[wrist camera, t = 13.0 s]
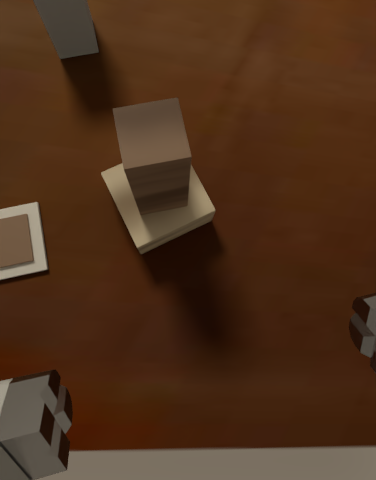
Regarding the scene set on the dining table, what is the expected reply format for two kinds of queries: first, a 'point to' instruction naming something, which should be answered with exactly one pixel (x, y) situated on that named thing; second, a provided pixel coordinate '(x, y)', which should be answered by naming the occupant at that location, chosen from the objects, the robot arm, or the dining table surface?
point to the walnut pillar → (155, 154)
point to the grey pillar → (68, 26)
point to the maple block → (159, 223)
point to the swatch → (21, 241)
